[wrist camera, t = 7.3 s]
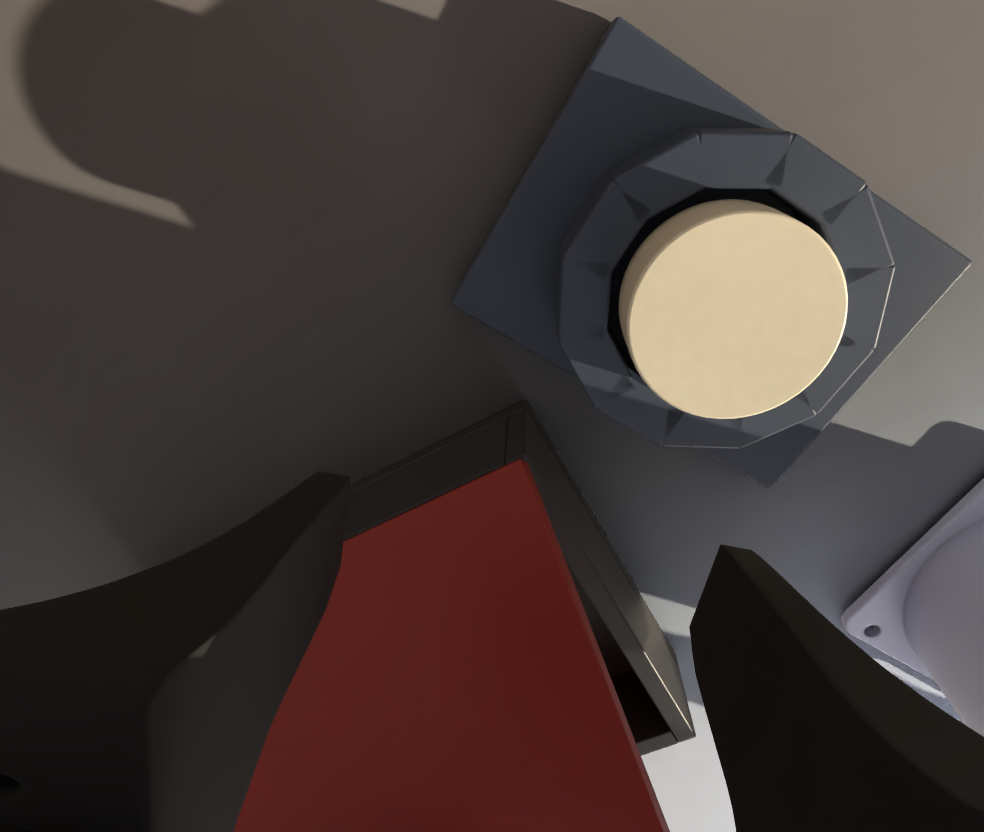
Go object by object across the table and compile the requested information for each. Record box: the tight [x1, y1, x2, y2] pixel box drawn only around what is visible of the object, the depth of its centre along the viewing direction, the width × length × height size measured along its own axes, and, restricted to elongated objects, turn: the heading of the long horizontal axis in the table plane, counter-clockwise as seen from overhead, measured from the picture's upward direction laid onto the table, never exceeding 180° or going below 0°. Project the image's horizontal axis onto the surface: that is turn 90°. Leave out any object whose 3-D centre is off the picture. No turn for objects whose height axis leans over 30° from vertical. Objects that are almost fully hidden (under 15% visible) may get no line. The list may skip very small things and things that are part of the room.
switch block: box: [451, 17, 972, 489], centre depth 18 cm, size 11×8×3 cm
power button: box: [619, 199, 848, 419], centre depth 17 cm, size 5×5×2 cm
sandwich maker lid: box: [233, 459, 670, 832], centre depth 16 cm, size 12×15×4 cm
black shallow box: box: [343, 400, 696, 756], centre depth 24 cm, size 11×15×4 cm
